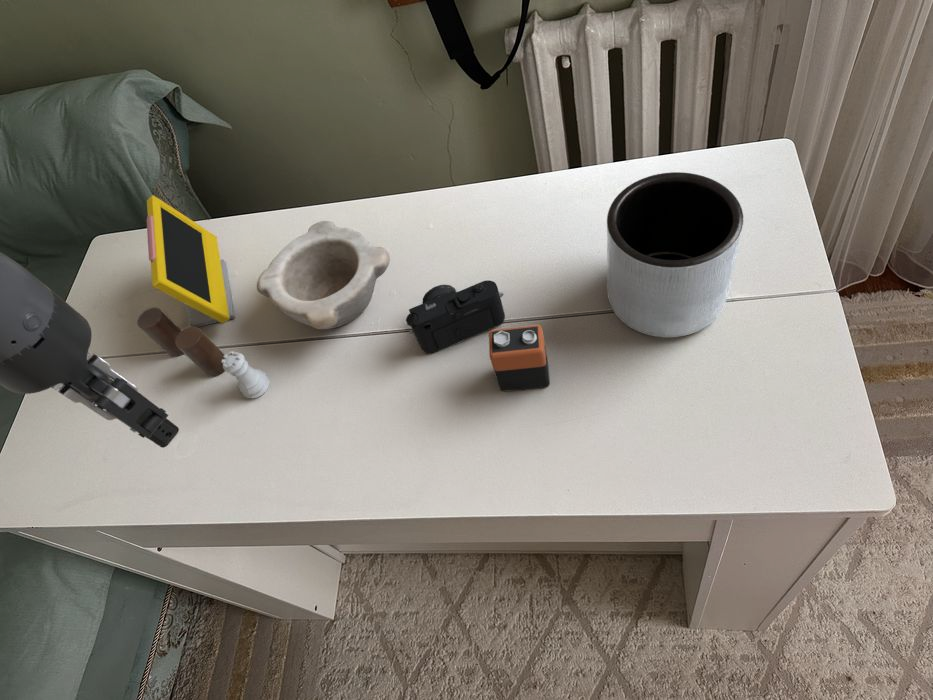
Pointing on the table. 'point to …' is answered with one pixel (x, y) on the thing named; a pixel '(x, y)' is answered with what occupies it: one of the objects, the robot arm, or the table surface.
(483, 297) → the camera
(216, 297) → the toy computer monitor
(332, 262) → the mortar
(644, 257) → the planter
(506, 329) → the battery
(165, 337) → the far post
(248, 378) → the rook chess piece
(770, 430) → the table surface
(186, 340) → the near post
